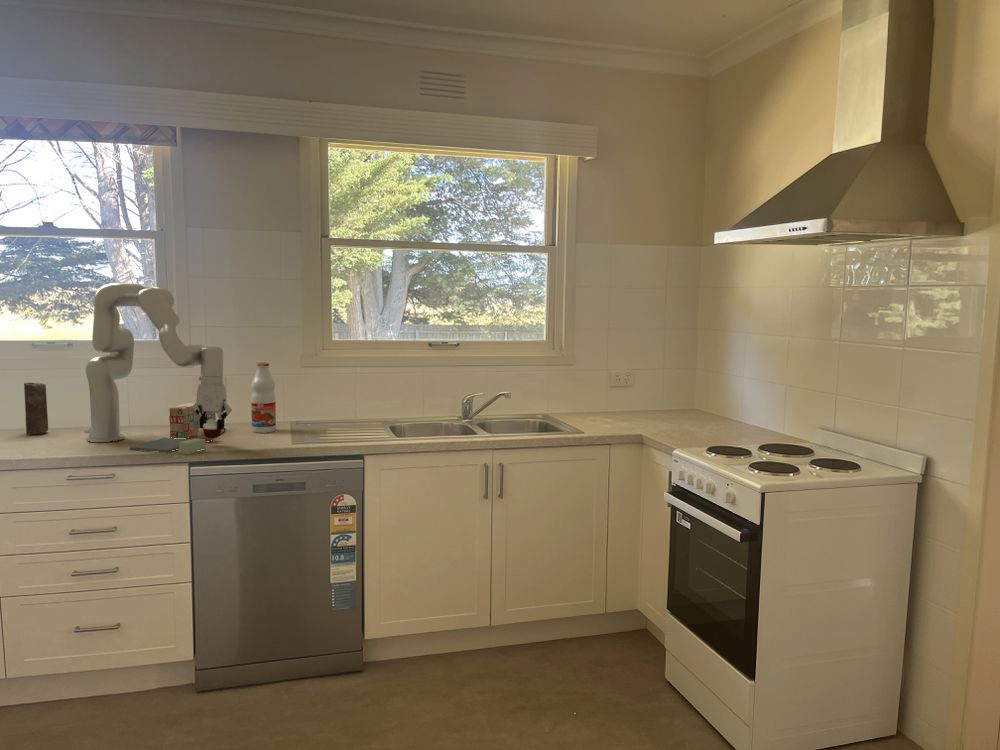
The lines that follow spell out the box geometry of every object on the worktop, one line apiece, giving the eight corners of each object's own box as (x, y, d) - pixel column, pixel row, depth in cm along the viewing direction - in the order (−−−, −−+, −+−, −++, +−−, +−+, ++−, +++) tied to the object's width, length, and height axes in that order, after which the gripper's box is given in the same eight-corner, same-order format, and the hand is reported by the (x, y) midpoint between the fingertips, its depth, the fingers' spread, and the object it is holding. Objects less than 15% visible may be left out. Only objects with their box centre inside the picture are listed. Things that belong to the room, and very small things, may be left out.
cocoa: (225, 437, 272) (228, 405, 272) (221, 439, 266) (223, 407, 265) (199, 435, 271) (201, 403, 270) (194, 438, 265) (196, 405, 264)
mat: (129, 449, 259) (129, 447, 259) (164, 440, 277) (164, 437, 277) (168, 452, 255) (168, 450, 255) (201, 443, 273) (201, 440, 273)
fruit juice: (279, 429, 303) (278, 362, 300) (271, 433, 294) (270, 364, 291) (257, 428, 304) (255, 361, 301) (248, 432, 294) (246, 363, 291)
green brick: (179, 453, 256) (178, 442, 255) (196, 449, 263) (196, 438, 263) (187, 454, 254) (187, 443, 254) (205, 450, 262) (204, 439, 261)
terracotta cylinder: (195, 442, 275) (195, 428, 274) (204, 439, 280) (203, 426, 279) (207, 442, 274) (207, 429, 273) (215, 440, 279) (215, 427, 278)
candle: (30, 432, 288) (27, 381, 286) (51, 431, 290) (48, 381, 288) (23, 435, 281) (20, 384, 278) (45, 435, 283) (42, 383, 280)
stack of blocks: (202, 429, 301) (201, 399, 300) (216, 429, 300) (215, 400, 299) (169, 438, 281) (168, 407, 279) (184, 439, 279) (183, 407, 278)
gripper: (184, 379, 265) (184, 428, 267) (226, 383, 261) (226, 432, 263) (198, 377, 272) (198, 425, 274) (239, 381, 268) (238, 429, 270)
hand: (212, 428), depth 268 cm, fingers closed on cocoa, 6 cm apart
